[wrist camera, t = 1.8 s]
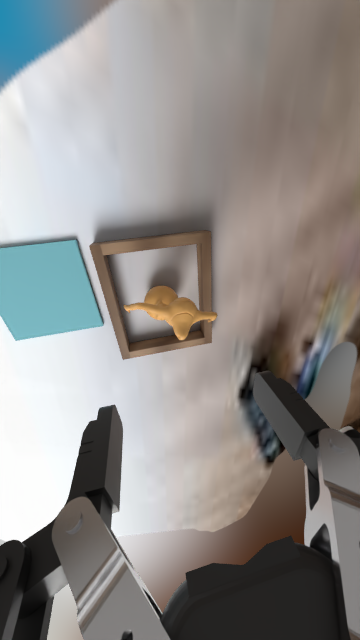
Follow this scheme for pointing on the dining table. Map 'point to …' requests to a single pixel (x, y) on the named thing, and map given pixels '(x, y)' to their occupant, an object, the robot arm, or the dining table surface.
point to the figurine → (172, 310)
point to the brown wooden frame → (108, 288)
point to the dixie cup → (350, 432)
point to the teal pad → (46, 290)
